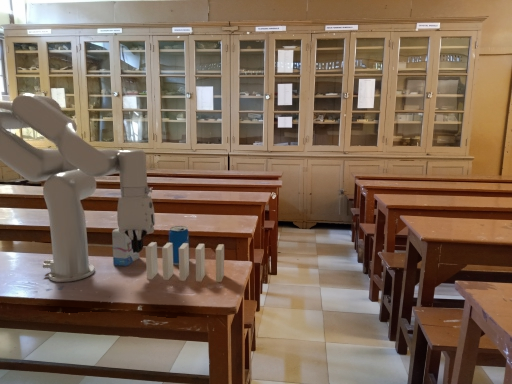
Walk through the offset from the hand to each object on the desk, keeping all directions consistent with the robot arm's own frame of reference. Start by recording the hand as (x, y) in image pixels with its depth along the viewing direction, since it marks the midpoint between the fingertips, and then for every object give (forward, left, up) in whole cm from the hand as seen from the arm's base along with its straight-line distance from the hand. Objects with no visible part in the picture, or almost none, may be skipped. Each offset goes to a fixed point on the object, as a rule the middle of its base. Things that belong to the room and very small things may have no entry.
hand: (137, 251), depth 106 cm
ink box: (-9, +11, -8) cm, 16 cm away
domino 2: (+9, 0, -8) cm, 12 cm away
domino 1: (+4, 0, -8) cm, 9 cm away
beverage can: (+9, +12, -8) cm, 17 cm away
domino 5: (+25, 0, -8) cm, 26 cm away
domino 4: (+19, 0, -8) cm, 21 cm away
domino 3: (+14, 0, -8) cm, 16 cm away
